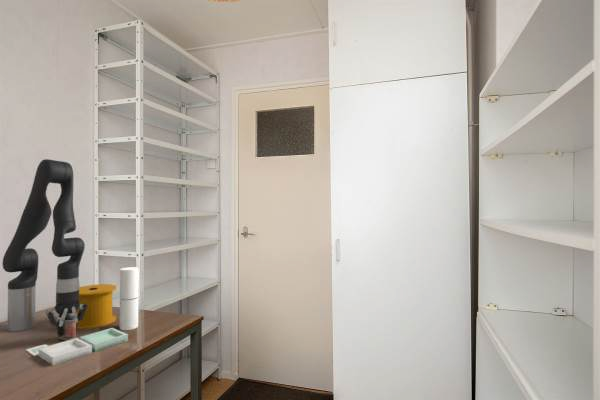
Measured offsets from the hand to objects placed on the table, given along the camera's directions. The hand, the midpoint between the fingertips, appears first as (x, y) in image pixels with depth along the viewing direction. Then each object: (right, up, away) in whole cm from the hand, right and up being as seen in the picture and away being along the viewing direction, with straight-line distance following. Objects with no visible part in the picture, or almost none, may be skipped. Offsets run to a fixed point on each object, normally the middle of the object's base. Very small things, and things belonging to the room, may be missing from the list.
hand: (67, 333), depth 135 cm
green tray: (+16, -2, -2) cm, 16 cm away
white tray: (+8, -2, -13) cm, 16 cm away
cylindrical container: (+17, -3, +14) cm, 22 cm away
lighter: (0, -2, 0) cm, 2 cm away
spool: (-2, -3, +20) cm, 20 cm away
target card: (-3, -2, -10) cm, 11 cm away
